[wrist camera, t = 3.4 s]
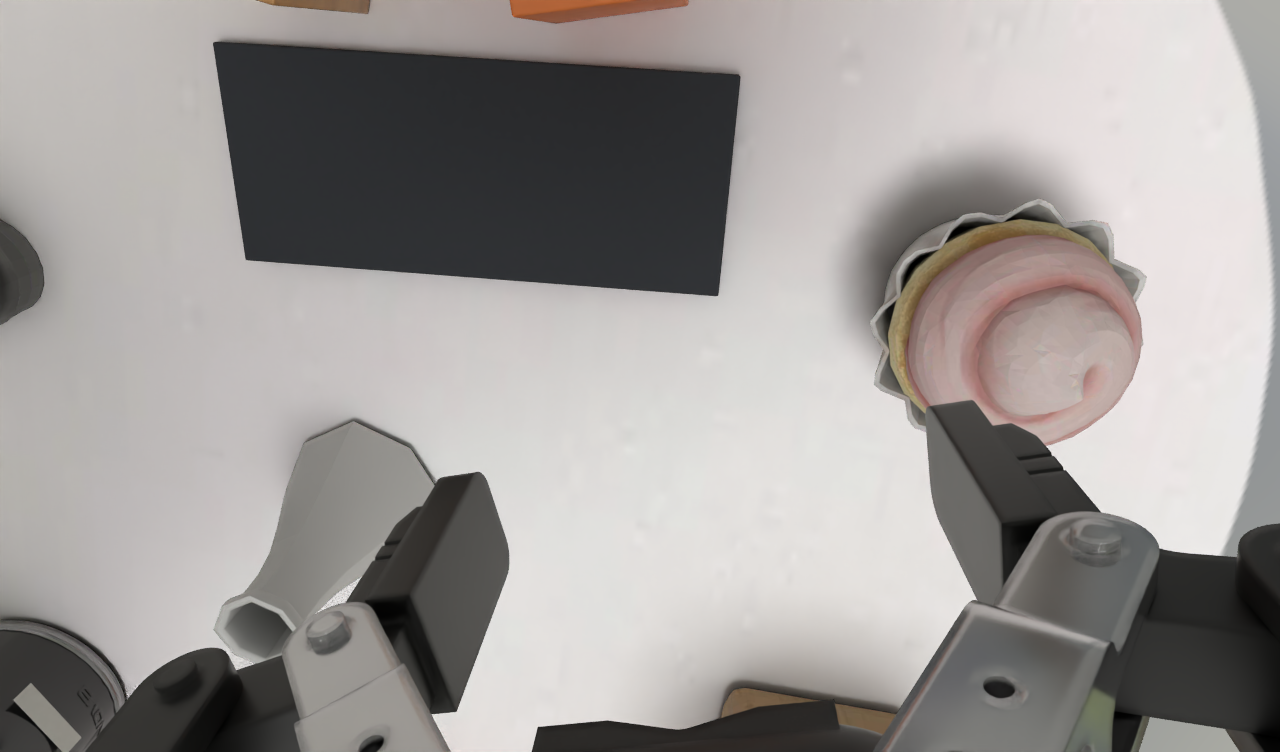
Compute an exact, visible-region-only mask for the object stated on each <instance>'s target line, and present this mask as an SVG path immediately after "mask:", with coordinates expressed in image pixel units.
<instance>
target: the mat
mask: <svg viewBox="0 0 1280 752" xmlns="http://www.w3.org/2000/svg"><path fill="white" fill-rule="evenodd" d="M213 46H214V52H215V59H216V66H217V72H218V79H219V86H220V92H221V99H222V105H223V112H224V119H225V125H226V132H227V139H228V145H229V152H230V158H231V165H232V172H233V178H234V185H235V192H236V198H237V205H238V211H239V218H240V225H241V231H242V238H243V244H244V251H245V258H246V260H252V261H265V262H278V263H291V264H304V265H317V266H330V267H343V268H356V269H369V270H382V271H395V272H408V273H421V274H434V275H447V276H460V277H474V278H487V279H500V280H513V281H526V282H539V283H552V284H565V285H578V286H591V287H604V288H617V289H630V290H643V291H656V292H669V293H682V294H696V295H709V296H718V293H719V283H720V273H721V263H722V253H723V243H724V234H725V224H726V214H727V204H728V194H729V184H730V175H731V165H732V155H733V145H734V135H735V125H736V116H737V106H738V96H739V86H740V76H739V75H734V74H718V73H702V72H687V71H671V70H655V69H639V68H624V67H608V66H592V65H577V64H561V63H545V62H529V61H514V60H498V59H482V58H467V57H451V56H435V55H419V54H404V53H388V52H372V51H357V50H341V49H325V48H309V47H294V46H278V45H262V44H246V43H231V42H214V43H213Z"/></svg>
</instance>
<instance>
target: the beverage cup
mask: <svg viewBox="0 0 1280 752" xmlns="http://www.w3.org/2000/svg"><path fill="white" fill-rule="evenodd" d="M43 285H44V280H43V269H42V266H41V264H40V261H39V259H38V256H37V254H36V252H35V251H34V249H33V248H32V247H31V245H30V244H29V242H28V241H27V240H26V238H24V237H23V236H22V235H21V234H20V233H19V232H18V231H17V230H15V229H14V228H13V227H12V226H10V225H8V224H7V223H5V222H3V221H1V220H0V325H1V324H3V323H5V322H7V321H8V320H9V319H10V318H11V317H13V316H15V315H17V314H18V313H20V312H21V311H23V310H26V309H28V308H30V307H32V306H33V305H34V304H35V303H36V301H37V300H38V299H39V298H40V296H41V293H42V289H43Z"/></svg>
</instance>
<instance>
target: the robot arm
mask: <svg viewBox="0 0 1280 752" xmlns="http://www.w3.org/2000/svg"><path fill="white" fill-rule="evenodd" d="M925 419H926V433H927V447H928V460H929V473H930V485H931V493H932V498H933V503H934V507H935V511H936V514H937V517H938V520H939V522H940V524H941V526H942V528H943V530H944V532H945V534H946V536H947V539H948V541H949V543H950V545H951V547H952V549H953V551H954V553H955V555H956V557H957V559H958V561H959V563H960V565H961V567H962V569H963V572H964V574H965V576H966V578H967V580H968V582H969V584H970V586H971V588H972V590H973V592H974V594H975V596H976V598H977V600H978V601H977V600H972V601H971V602H969V603H968V604H967V605H966V606H965V608H964V609H963V610H962V612H961V614H960V615H959V617H958V618H957V620H956V621H955V623H954V625H953V626H952V628H951V629H950V631H949V632H948V634H947V636H946V637H945V639H944V640H943V642H942V643H941V645H940V646H939V648H938V650H937V651H936V653H935V654H934V656H933V657H932V659H931V661H930V662H929V664H928V665H927V667H926V668H925V670H924V672H923V673H922V675H921V676H920V678H919V679H918V681H917V683H916V684H915V686H914V687H913V689H912V690H911V692H910V694H909V695H908V697H907V698H906V700H905V701H904V703H903V705H902V706H901V708H900V709H899V711H898V712H897V714H896V715H895V717H894V719H893V720H892V722H891V723H890V725H889V726H888V728H887V730H886V731H885V733H884V734H880V733H878V732H875V731H871V730H867V729H863V728H859V727H855V726H849V725H842V724H839V722H838V717H837V711H836V706H835V701H834V699H833V700H823V701H812V702H801V703H790V704H780V705H769V706H758V707H755V708H752V709H749V710H745V711H742V712H739V713H736V714H732V715H729V716H726V717H723V718H720V719H716V720H713V721H710V722H707V723H703V724H700V725H697V726H694V727H691V728H687V729H681V730H675V729H666V728H659V727H651V726H644V725H636V724H629V723H621V722H614V721H598V722H587V723H577V724H566V725H555V726H545V727H538V729H537V733H536V737H535V741H534V745H533V749H532V752H1139V749H1140V746H1141V743H1142V740H1143V737H1144V734H1145V731H1146V728H1147V725H1148V722H1149V717H1154V718H1160V719H1167V720H1173V721H1180V722H1185V723H1192V724H1198V725H1204V726H1211V727H1217V728H1223V729H1226V731H1227V733H1228V734H1229V736H1230V738H1231V739H1232V741H1233V742H1234V744H1235V745H1236V747H1237V748H1238V750H1239V751H1240V752H1280V524H1271V525H1265V526H1261V527H1257V528H1255V529H1253V530H1250V531H1249V532H1247V533H1246V534H1245V535H1244V536H1243V537H1242V538H1241V539H1240V542H1239V545H1238V554H1237V557H1227V556H1214V555H1201V554H1188V553H1179V552H1173V551H1168V550H1163V549H1159V545H1158V543H1157V541H1156V539H1155V538H1154V537H1153V535H1152V534H1151V533H1150V532H1148V531H1147V530H1146V529H1145V528H1143V527H1142V526H1140V525H1138V524H1137V523H1134V522H1132V521H1130V520H1128V519H1125V518H1122V517H1119V516H1115V515H1111V514H1106V513H1101V512H1100V510H1099V509H1098V508H1097V507H1096V506H1095V504H1094V503H1093V502H1092V501H1091V500H1090V499H1089V497H1088V496H1087V495H1086V494H1085V493H1084V491H1083V490H1082V489H1081V488H1080V487H1079V485H1078V484H1077V483H1076V482H1075V481H1074V479H1073V478H1072V477H1071V476H1070V475H1069V473H1068V472H1067V471H1066V470H1065V471H1064V470H1063V466H1062V465H1061V464H1060V463H1059V462H1058V460H1057V459H1056V458H1055V457H1054V456H1052V455H1051V452H1050V451H1049V450H1048V448H1047V447H1046V446H1045V445H1044V444H1043V442H1042V441H1041V440H1040V439H1039V438H1038V436H1036V435H1034V434H1032V433H1030V432H1028V431H1026V430H1024V429H1022V428H1020V427H1018V426H1017V425H1015V424H1013V423H1007V424H1000V425H992V424H991V423H990V421H989V420H988V419H987V417H986V416H985V415H984V413H983V412H982V411H981V409H980V408H979V407H978V405H977V404H976V403H975V401H973V400H966V401H960V402H953V403H946V404H939V405H933V406H928V407H927V408H926V414H925ZM384 543H385V546H382V547H381V548H380V550H379V551H378V553H377V554H376V556H375V561H372V562H371V564H370V565H369V567H368V569H367V570H366V572H365V573H364V575H363V576H362V578H361V579H360V581H359V583H358V584H357V586H356V587H355V589H354V590H353V592H352V593H351V595H350V597H349V598H348V600H347V601H346V603H342V604H338V605H335V606H332V607H329V608H327V609H324V610H322V611H320V612H318V613H316V614H315V615H313V616H311V617H310V618H308V619H307V620H305V621H304V622H303V623H301V624H300V625H299V626H298V627H297V628H296V629H295V630H294V631H293V632H292V633H291V634H290V635H289V637H288V638H287V640H286V641H285V643H284V645H283V649H282V655H280V656H277V657H274V658H272V659H269V660H266V661H263V662H260V663H257V664H254V665H251V666H248V667H245V668H242V669H239V670H236V669H235V667H234V665H233V663H232V662H231V660H230V658H229V656H228V654H227V653H226V652H225V651H224V650H222V649H219V648H204V649H200V650H196V651H193V652H189V653H187V654H184V655H182V656H180V657H178V658H176V659H174V660H172V661H170V662H168V663H167V664H165V665H163V666H162V667H160V668H159V669H157V670H156V671H155V672H153V673H152V674H151V675H150V676H148V677H147V678H146V679H145V680H144V681H143V682H142V683H141V684H140V685H139V686H138V687H137V688H136V690H135V691H134V692H133V693H132V695H131V696H130V697H129V698H128V699H127V701H126V702H125V698H124V694H123V691H122V688H121V686H120V683H119V681H118V680H117V678H116V676H115V674H114V673H113V672H112V670H111V669H110V668H109V666H108V665H107V664H106V663H105V662H104V661H103V660H102V659H101V658H100V657H99V656H98V655H97V654H96V653H95V652H94V651H92V650H91V649H90V648H89V647H87V646H86V645H85V644H83V643H82V642H80V641H79V640H77V639H75V638H73V637H72V636H70V635H68V634H66V633H64V632H62V631H59V630H57V629H54V628H52V627H49V626H46V625H42V624H39V623H34V622H28V621H19V620H6V621H0V752H451V751H450V749H449V748H448V746H447V744H446V742H445V740H444V738H443V736H442V734H441V732H440V730H439V729H438V727H437V725H436V723H435V721H434V719H433V717H432V715H431V714H439V713H449V712H457V709H458V706H459V703H460V701H461V698H462V695H463V693H464V690H465V687H466V685H467V682H468V679H469V677H470V674H471V671H472V669H473V666H474V663H475V660H476V658H477V655H478V652H479V650H480V647H481V644H482V642H483V639H484V636H485V634H486V631H487V628H488V626H489V623H490V620H491V618H492V615H493V612H494V609H495V607H496V604H497V601H498V599H499V596H500V593H501V591H502V588H503V585H504V583H505V580H506V577H507V574H508V570H509V550H508V544H507V540H506V537H505V534H504V531H503V528H502V525H501V522H500V519H499V516H498V513H497V509H496V506H495V503H494V500H493V497H492V494H491V491H490V488H489V485H488V483H487V480H486V478H485V477H484V475H483V474H482V473H480V472H475V473H468V474H461V475H454V476H448V477H442V478H440V479H439V480H438V481H437V483H436V484H435V486H434V488H433V489H432V491H431V492H430V494H429V496H428V497H427V499H426V501H425V502H424V504H423V506H419V507H416V508H415V509H413V510H412V511H411V512H410V513H409V514H407V515H406V516H405V517H404V518H403V519H402V520H400V521H399V522H398V523H397V524H396V525H395V526H394V528H393V530H392V531H391V533H390V534H389V536H388V537H387V539H386V540H385V542H384Z"/></svg>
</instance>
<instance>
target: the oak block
mask: <svg viewBox="0 0 1280 752" xmlns="http://www.w3.org/2000/svg"><path fill="white" fill-rule="evenodd" d="M257 1H260V2H264V3H267V4H271V5H276V6H287V7H298V8H308V9H319V10H330V11H341V12H352V13H363V14H368V11H369V2H370V0H257Z"/></svg>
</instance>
